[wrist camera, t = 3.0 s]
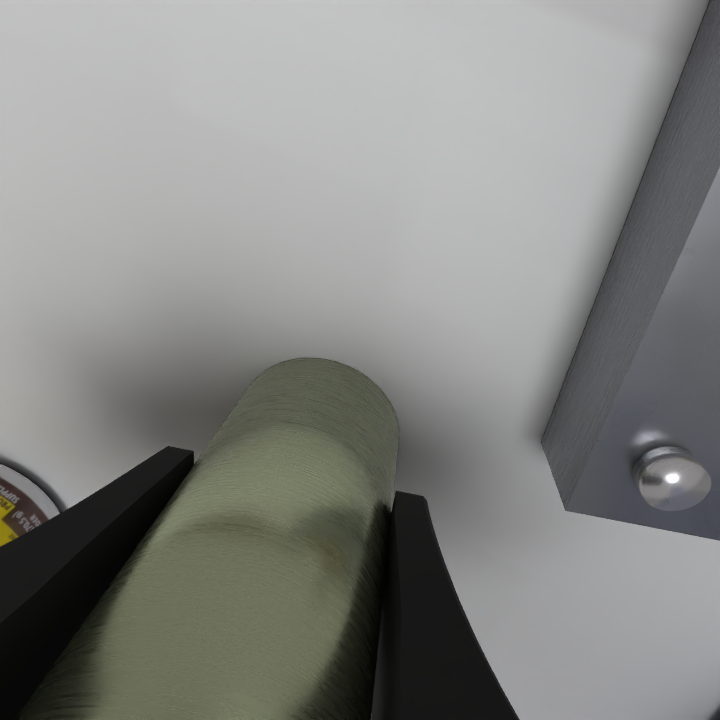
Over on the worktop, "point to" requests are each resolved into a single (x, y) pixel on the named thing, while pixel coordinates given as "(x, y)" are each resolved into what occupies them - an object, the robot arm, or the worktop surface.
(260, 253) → the worktop surface
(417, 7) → the worktop surface
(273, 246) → the worktop surface
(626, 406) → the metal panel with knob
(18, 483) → the supplement bottle
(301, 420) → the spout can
